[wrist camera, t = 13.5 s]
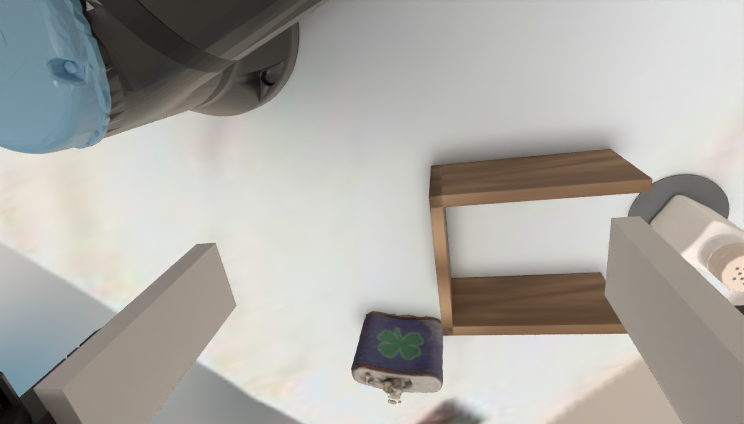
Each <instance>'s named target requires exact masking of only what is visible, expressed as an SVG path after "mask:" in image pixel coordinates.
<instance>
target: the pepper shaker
mask: <svg viewBox="0 0 744 424" xmlns="http://www.w3.org/2000/svg"><path fill="white" fill-rule="evenodd" d="M650 226H651V227H652V228H653V229H654V230H655V231H656V232H657V233H658V234H659V235H660V236H661V237H662V238H663V239H664V240H665V241H666V242H667V243H668V244H670V245H671V246H672V247H673V248H674V249H675V250H676V251H677V252H678V253H679V254H680V255H681V256H682V257H683V258H684V259H685V260H686V261H687V262H688V263H689V264H691V265H692V266H694V267H696V268H698V269H700V270H702V271H705V272H707V273H709V274H712V275H713V276H715V277H716V278H717V279H718V280H719V281H720V282H722V283H723V284H724V285H725V286H726V287H727V288H728V289H729V290H734V291H739V292H744V231H743V230H742V229H740V228H739V227H737V226H736V225H735V224H733V223H732V222H730V221H729V220H727V219H726V218H724V217H723V216H721V215H720V214H718V213H717V212H715V211H714V210H712V209H710V208H708V207H706V206H704V205H702V204H700V203H698V202H696V201H694V200H692V199H690V198H688V197H686V196H684V195H675V196H674V197H672V198H671V199H670V201H669V202H668V203H667V204H666V205H665V206H664V207H663V209H662V210H661V211H660V212H659V213H658V214H657V215H656V217H655V218H654V219H653V220H652V221H651V223H650Z"/></svg>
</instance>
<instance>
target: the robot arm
mask: <svg viewBox="0 0 744 424" xmlns="http://www.w3.org/2000/svg"><path fill="white" fill-rule="evenodd" d="M327 1H328V0H0V146H1V147H3V148H6V149H8V150H12V151H16V152H22V153H29V154H45V153H52V152H57V151H61V150H65V149H69V148H73V147H75V148H79V149H80V148H85V147H90V146H93V145H95V144H97V143H98V142H100V141H101V140H102V139H103V138H106V137H109V136H112V135H115V134H118V133H121V132H124V131H127V130H130V129H133V128H136V127H139V126H142V125H145V124H148V123H151V122H154V121H158V120H161V119H164V118H167V117H170V116H173V115H176V114H179V113H182V112H185V111H187V110H190V111H194V112H198V113H203V114H207V115H213V116H232V115H238V114H242V113H245V112H248V111H251V110H253V109H255V108H258V107H260V106H262V105H263V104H265V103H267V102H268V101H270V100H271V99H272V98H273V97H275V96H276V95H277V94H278V93H279V91H280V90H281V89H282V88H283V86H284V85H285V83H286V82H287V80H288V78H289V76H290V74H291V72H292V70H293V67H294V64H295V60H296V56H297V51H298V38H299V35H298V22H297V21H299V20H300V19H302V18H303V17H305V16H306V15H308V14H309V13H311V12H312V11H314V10H315V9H317V8H318V7H320V6H321V5H323V4H324V3H325V2H327ZM605 296H606V298H607V300H608V301H609V303H610V305H611V306H612V308H613V310H614V311H615V313H616V315H617V316H618V318H619V320H620V321H621V323H622V324H623V326H624V328H625V329H626V331H627V333H628V334H629V336H630V338H631V339H632V341H633V343H634V344H635V346H636V347H637V349H638V351H639V352H640V354H641V356H642V357H643V359H644V361H645V362H646V364H647V365H648V367H649V369H650V370H651V372H652V374H653V375H654V377H655V378H656V380H657V382H658V384H659V385H660V387H661V389H662V390H663V392H664V394H665V395H666V397H667V398H668V400H669V402H670V403H671V405H672V406H673V408H674V410H675V411H676V413H677V415H678V417H679V418H680V420H681V421H682V423H683V424H744V305H742V306H734V305H732V304H731V303H730V302H729V301H728V300H727V299H726V298H725V297H724V296H723V295H722V294H721V293H720V292H719V291H718V290H717V289H716V288H715V287H714V286H713V285H711V284H710V283H709V282H708V281H707V280H706V279H705V278H704V277H703V276H702V275H701V274H700V273H699V272H698V271H697V270H696V269H695V268H694V267H693V266H692V265H691V264H689V263H688V262H687V261H686V260H685V259H684V258H683V257H682V256H681V255H680V254H679V253H678V252H677V251H676V250H675V249H674V248H673V247H672V246H671V245H670V244H668V243H667V242H666V241H665V240H664V239H663V238H662V237H661V236H660V235H659V234H658V233H657V232H656V231H655V230H654V229H653V228H652V227H651V226H650V225H649V224H647V223H646V222H645V221H644V220H643V219H642V218H641V217H640V216H637V217H621V218H611V229H610V240H609V251H608V262H607V273H606V285H605ZM235 307H236V303H235V300H234V297H233V294H232V291H231V288H230V285H229V282H228V279H227V276H226V273H225V270H224V267H223V264H222V261H221V258H220V255H219V252H218V249H217V246H216V243H207V244H196V245H195V246H194V247H193V248H192V249H191V250H190V251H188V252H187V253H186V254H185V255H184V256H183V257H182V258H181V259H179V260H178V261H177V262H176V263H175V264H174V265H173V266H171V267H170V268H169V269H168V270H167V271H166V272H165V273H164V274H162V275H161V276H160V277H159V278H158V279H157V280H156V281H154V282H153V283H152V284H151V285H150V286H149V287H148V288H147V289H145V290H144V291H143V292H142V293H141V294H140V295H139V296H137V297H136V298H135V299H134V300H133V301H132V302H131V303H130V304H128V305H127V306H126V307H125V308H124V309H123V310H122V311H120V312H119V313H118V314H117V315H116V316H115V317H114V318H113V319H111V320H110V321H109V322H108V323H107V324H106V325H105V326H103V327H102V328H100V329H99V330H97V331H95V332H94V333H93V334H92V335H90V336H89V337H88V338H87V339H86V340H85V341H84V342H82V343H81V344H80V347H79V348H76V349H75V350H73V351H72V352H71V353H70V354H69V355H68V356H67V359H63V360H62V361H61V362H60V363H58V364H57V365H56V366H55V367H54V368H53V369H52V370H51V371H49V372H48V373H47V374H46V375H45V376H44V377H43V378H42V379H40V380H39V381H38V382H37V383H36V384H35V385H33V386H32V387H31V388H30V389H29V390H28V391H27V392H25V393H24V394H23V395H22V396H21V397H20V398H19V397H18V395H17V394H16V392H15V391H14V389H13V388H12V386H11V385H10V383H9V382H8V380H7V379H6V377H5V376H4V374H3V373H2V372H0V424H149V423H150V421H151V420H152V419H153V417H154V416H155V415H156V413H157V412H158V411H159V409H160V408H161V407H162V405H163V404H164V403H165V401H166V400H167V399H168V397H169V396H170V394H171V393H172V391H173V390H174V389H175V387H176V386H177V385H178V384H179V382H180V381H181V380H182V378H183V377H184V375H185V374H186V373H187V372H188V370H189V369H190V367H191V366H192V365H193V363H194V362H195V361H196V359H197V358H198V357H199V355H200V354H201V353H202V351H203V350H204V349H205V347H206V346H207V344H208V343H209V342H210V340H211V339H212V338H213V336H214V335H215V334H216V332H217V331H218V330H219V328H220V327H221V326H222V324H223V323H224V322H225V320H226V319H227V317H228V316H229V315H230V313H231V312H232V311H233V309H234V308H235Z"/></svg>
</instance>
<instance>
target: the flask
mask: <svg viewBox="0 0 744 424" xmlns="http://www.w3.org/2000/svg"><path fill="white" fill-rule="evenodd" d="M442 354H443V333H442V323H441V321H439V320H437V319H434V318H430V317H425V318H421V317H414V316H411V315H403V316H402V315H401V316H395V314H391V315H387V314H385V313H379V312H375V311H373V312H371V313H369V314H366V318H365V320H364V323H363V327H362V330H361V335H360V339H359V343H358V346H357V350H356V354H355V357H354V361H353V364H352V368H351V370H352V375H353V378H354V379H355V381H357V382H359V383H361V384H365V385H369V386H373V387H376V388H380V389H383V391H385V392H386V393H389V394H390V396H388V397H389V398H392V399H393V398H394V399H400V396H401V393H402V392H423V393H427V392H437V391H438V390H440V389H441V387H442V384H443V370H442V364H443V359H442ZM388 402H389V403H391V404H396V401H394V400H390V399H389V400H388ZM398 403H401V401H398Z"/></svg>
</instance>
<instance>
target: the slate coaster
mask: <svg viewBox="0 0 744 424" xmlns="http://www.w3.org/2000/svg"><path fill="white" fill-rule="evenodd" d="M675 195H684V196H686V197H688V198H690V199H692V200H694V201H696V202H698V203H700V204H702V205H704V206H706V207H708V208H710V209H712V210H714V211H715V212H717V213H718V214H720V215H721V216H723V217H724V218H726V219H727V218H728V215H729V202H728V199H727V196H726V194H725V193H724V191H723V190H722V189H721V188H720V187H719V186H718V185H716V184H715V183H713V182H712V181H710V180H708V179H706V178H703V177H700V176H696V175H676V176H671V177H667V178H665V179H662V180H660V181H657V182H655V183H654V184H652V185H651V192H643V193H641V194H640V195H639V196H638V197H637V198H636V199H635V201H634V202H633V204H632V206H631V208H630V211H629V215H628V217H637V216H640V217H641V218H642V219H643V220H644V221H645V222H646V223H647V224H649V225H650V223H651V221H652V220H653V219H654V218H655V217H656V215H657V214H658V213H659V212H660V211H661V210H662V209H663V207H664V206H665V205H666V204H667V203H668V202H669V201H670V199H671V198H672V197H674V196H675Z"/></svg>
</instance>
